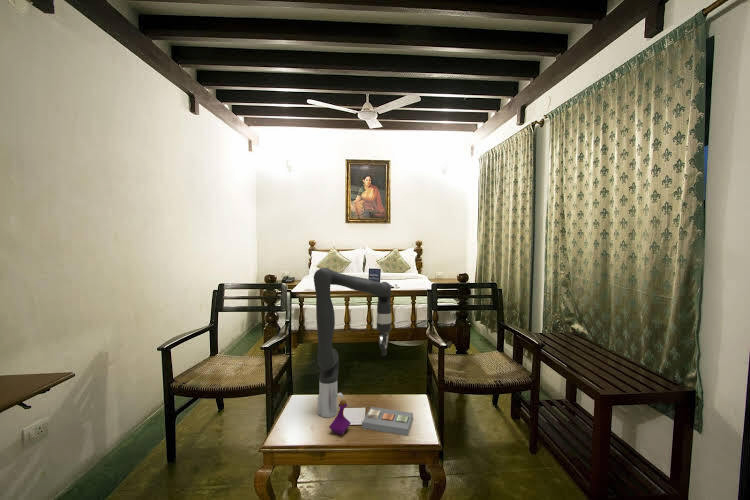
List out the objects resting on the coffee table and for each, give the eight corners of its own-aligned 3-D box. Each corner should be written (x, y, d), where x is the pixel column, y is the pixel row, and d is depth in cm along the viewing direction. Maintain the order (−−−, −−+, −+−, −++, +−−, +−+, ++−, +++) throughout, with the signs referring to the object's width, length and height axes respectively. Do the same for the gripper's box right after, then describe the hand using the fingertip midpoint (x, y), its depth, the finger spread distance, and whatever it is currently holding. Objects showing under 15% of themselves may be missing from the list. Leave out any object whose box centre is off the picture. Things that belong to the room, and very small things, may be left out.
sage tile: (396, 424, 158) (396, 420, 158) (398, 419, 163) (398, 415, 163) (406, 426, 156) (406, 421, 156) (408, 420, 161) (408, 416, 161)
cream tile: (368, 418, 162) (368, 414, 162) (370, 413, 166) (370, 409, 166) (377, 419, 160) (377, 415, 160) (380, 414, 165) (380, 410, 165)
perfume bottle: (351, 429, 156) (350, 391, 156) (342, 438, 149) (342, 398, 149) (337, 425, 159) (337, 388, 159) (328, 434, 153) (328, 395, 152)
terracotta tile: (381, 422, 160) (381, 418, 160) (384, 417, 165) (384, 413, 164) (392, 423, 158) (392, 419, 158) (394, 418, 163) (394, 414, 163)
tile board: (362, 428, 157) (362, 422, 157) (370, 412, 172) (370, 406, 172) (407, 435, 151) (407, 429, 151) (412, 418, 166) (412, 412, 166)
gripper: (380, 318, 175) (380, 350, 176) (373, 324, 163) (373, 358, 163) (393, 319, 173) (393, 351, 174) (388, 325, 161) (387, 360, 161)
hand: (383, 355), depth 168 cm, fingers closed
